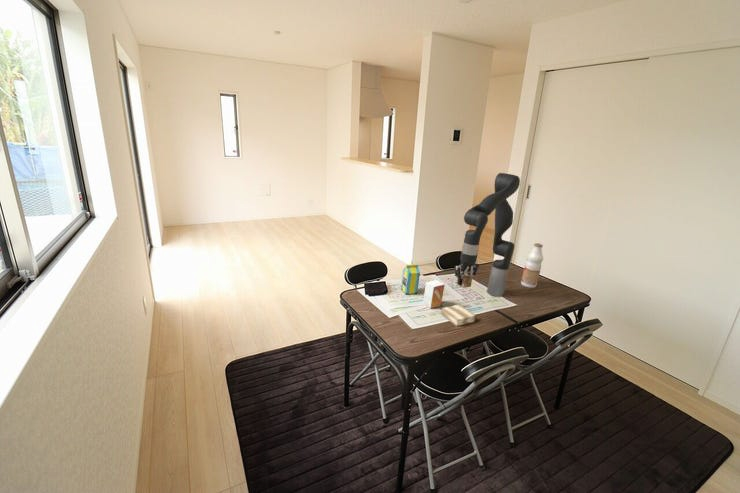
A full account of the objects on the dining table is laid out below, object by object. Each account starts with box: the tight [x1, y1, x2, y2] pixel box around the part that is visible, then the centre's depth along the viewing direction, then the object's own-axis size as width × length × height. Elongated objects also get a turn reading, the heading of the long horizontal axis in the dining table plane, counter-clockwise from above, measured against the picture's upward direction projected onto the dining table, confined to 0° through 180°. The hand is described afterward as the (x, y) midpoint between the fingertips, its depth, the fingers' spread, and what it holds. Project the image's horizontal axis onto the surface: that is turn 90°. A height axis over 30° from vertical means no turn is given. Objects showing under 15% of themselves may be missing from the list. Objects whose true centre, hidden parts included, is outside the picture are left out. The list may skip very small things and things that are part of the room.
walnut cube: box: [455, 273, 473, 289], centre depth 172 cm, size 5×5×5 cm
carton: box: [400, 260, 421, 296], centre depth 200 cm, size 7×8×18 cm
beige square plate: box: [440, 303, 476, 327], centre depth 178 cm, size 12×12×4 cm
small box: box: [422, 279, 445, 309], centre depth 188 cm, size 8×6×13 cm
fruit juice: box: [520, 242, 544, 289], centre depth 221 cm, size 9×9×28 cm
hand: (463, 283), depth 173 cm, fingers closed on walnut cube, 5 cm apart
